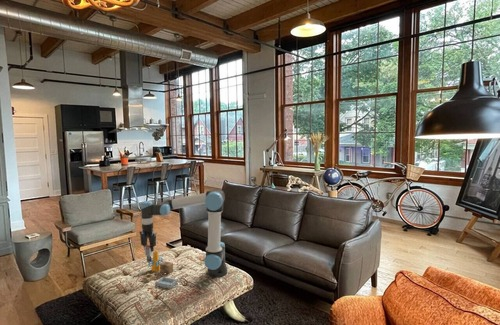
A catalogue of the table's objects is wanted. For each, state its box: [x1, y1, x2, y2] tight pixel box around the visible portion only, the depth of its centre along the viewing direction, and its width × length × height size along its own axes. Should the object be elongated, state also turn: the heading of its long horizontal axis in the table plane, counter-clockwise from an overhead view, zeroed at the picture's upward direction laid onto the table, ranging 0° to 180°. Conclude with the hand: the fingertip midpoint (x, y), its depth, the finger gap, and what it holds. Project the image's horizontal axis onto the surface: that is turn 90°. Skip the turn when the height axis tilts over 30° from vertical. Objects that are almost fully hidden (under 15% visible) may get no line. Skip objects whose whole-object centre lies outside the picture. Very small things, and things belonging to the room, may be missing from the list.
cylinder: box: [147, 250, 164, 273], centre depth 225 cm, size 12×10×15 cm
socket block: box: [141, 273, 155, 283], centre depth 211 cm, size 6×6×2 cm
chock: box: [159, 260, 174, 275], centre depth 221 cm, size 8×5×7 cm, turn 68°
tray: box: [155, 276, 179, 290], centre depth 203 cm, size 12×8×3 cm, turn 68°
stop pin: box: [146, 244, 153, 263], centre depth 209 cm, size 4×4×11 cm
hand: (148, 255), depth 209 cm, fingers closed on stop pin, 4 cm apart
